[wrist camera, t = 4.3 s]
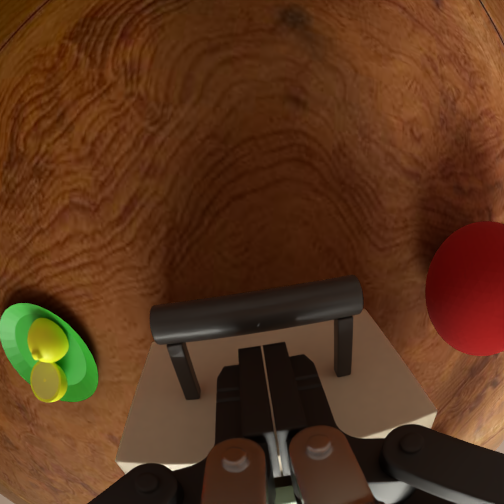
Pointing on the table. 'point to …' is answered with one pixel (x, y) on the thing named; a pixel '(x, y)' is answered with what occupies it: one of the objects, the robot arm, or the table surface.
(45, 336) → the green plate of lemons
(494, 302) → the christmas ornament
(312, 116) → the table surface
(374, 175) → the table surface
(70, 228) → the table surface
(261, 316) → the drawer
